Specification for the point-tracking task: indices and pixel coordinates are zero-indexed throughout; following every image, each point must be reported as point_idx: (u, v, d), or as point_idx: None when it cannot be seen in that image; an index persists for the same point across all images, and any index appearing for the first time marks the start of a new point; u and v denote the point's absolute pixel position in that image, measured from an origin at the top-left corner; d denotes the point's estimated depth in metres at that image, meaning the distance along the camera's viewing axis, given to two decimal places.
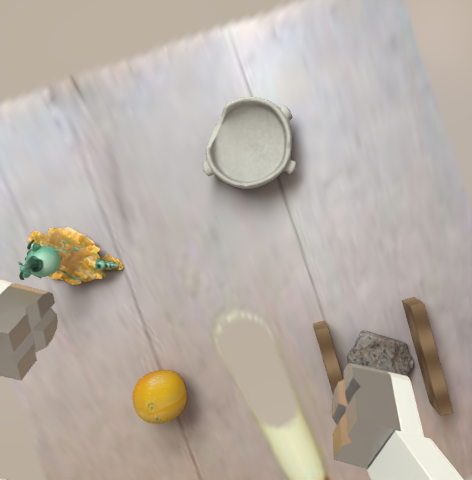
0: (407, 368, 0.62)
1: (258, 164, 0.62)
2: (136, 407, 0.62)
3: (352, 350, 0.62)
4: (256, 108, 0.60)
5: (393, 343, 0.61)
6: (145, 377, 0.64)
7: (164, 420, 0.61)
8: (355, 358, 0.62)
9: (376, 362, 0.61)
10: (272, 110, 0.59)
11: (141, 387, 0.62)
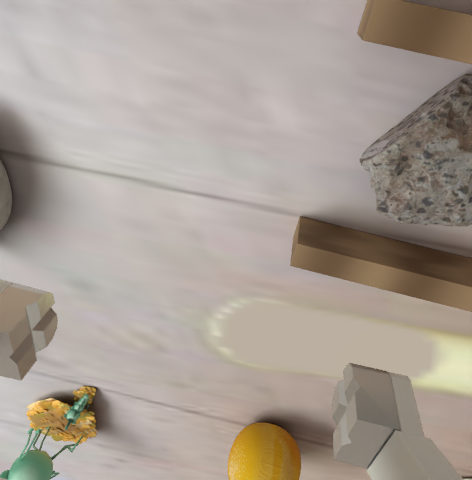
0: None
1: None
2: None
3: (379, 209, 0.26)
4: None
5: (428, 122, 0.22)
6: None
7: None
8: (398, 216, 0.26)
9: (439, 185, 0.24)
10: None
11: None
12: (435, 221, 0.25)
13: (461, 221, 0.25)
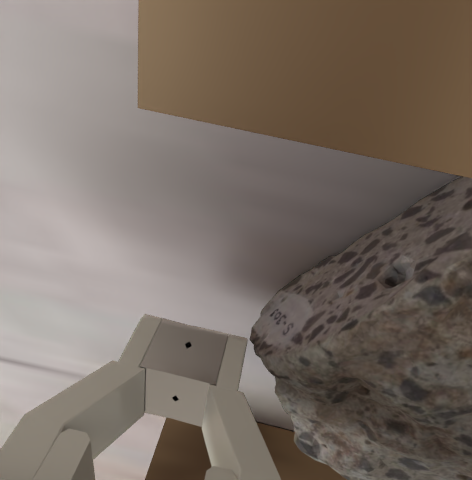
0: None
1: None
2: None
3: (298, 445, 0.11)
4: None
5: (418, 308, 0.07)
6: None
7: None
8: (341, 473, 0.10)
9: (444, 449, 0.09)
10: None
11: None
12: None
13: None
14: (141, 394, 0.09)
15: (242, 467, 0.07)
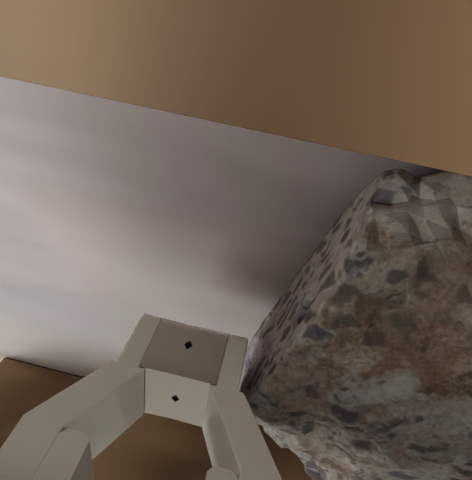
0: None
1: None
2: None
3: (309, 473, 0.12)
4: None
5: (309, 346, 0.08)
6: None
7: None
8: None
9: (412, 458, 0.09)
10: None
11: None
12: None
13: None
14: (140, 394, 0.09)
15: (243, 467, 0.07)
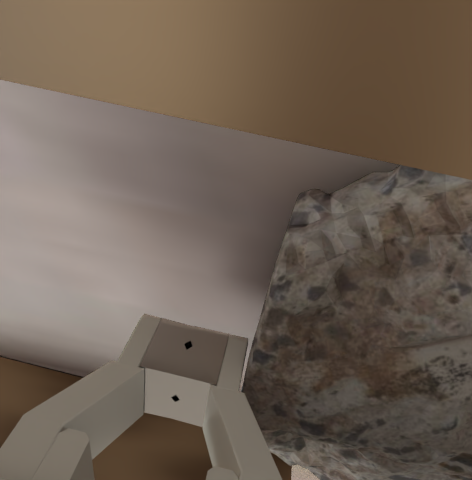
0: None
1: None
2: None
3: None
4: None
5: (259, 370, 0.08)
6: None
7: None
8: None
9: (398, 461, 0.09)
10: None
11: None
12: None
13: None
14: (140, 394, 0.09)
15: (243, 468, 0.07)
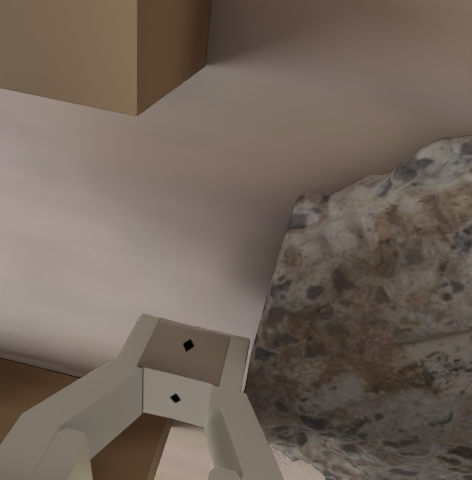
0: None
1: None
2: None
3: None
4: None
5: (260, 367, 0.09)
6: None
7: None
8: None
9: (397, 454, 0.09)
10: None
11: None
12: None
13: None
14: (139, 393, 0.09)
15: (245, 468, 0.07)
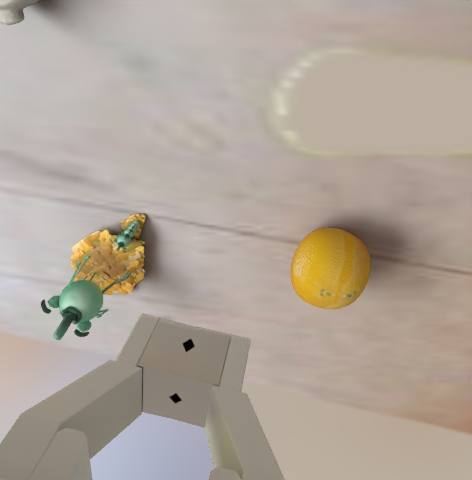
0: None
1: None
2: (319, 306, 0.41)
3: None
4: None
5: None
6: (291, 272, 0.42)
7: (359, 287, 0.38)
8: None
9: None
10: None
11: (296, 286, 0.40)
12: None
13: None
14: (138, 393, 0.09)
15: (246, 468, 0.07)
